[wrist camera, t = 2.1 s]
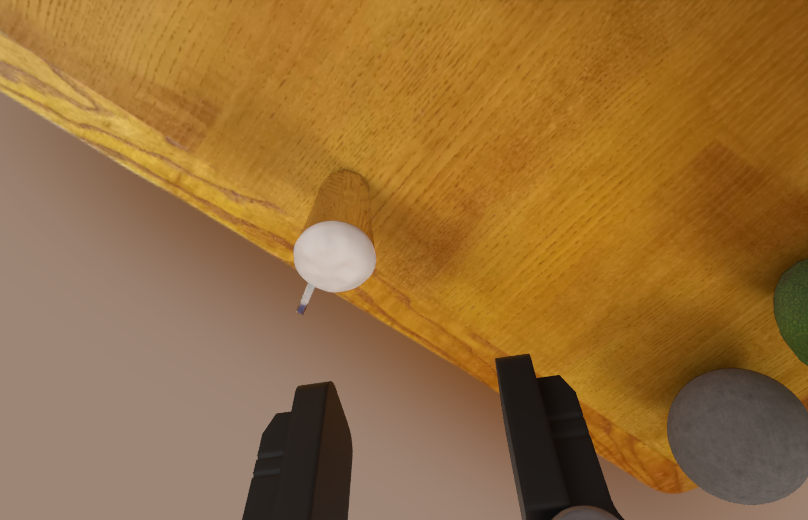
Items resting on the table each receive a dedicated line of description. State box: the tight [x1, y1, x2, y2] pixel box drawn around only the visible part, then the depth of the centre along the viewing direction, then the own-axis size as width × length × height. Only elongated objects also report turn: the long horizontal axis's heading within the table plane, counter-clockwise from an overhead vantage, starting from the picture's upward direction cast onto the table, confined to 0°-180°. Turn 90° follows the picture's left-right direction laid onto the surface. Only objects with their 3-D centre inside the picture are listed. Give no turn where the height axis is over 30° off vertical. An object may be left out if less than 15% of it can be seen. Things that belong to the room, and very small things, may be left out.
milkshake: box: [294, 170, 376, 316], centre depth 37 cm, size 4×5×10 cm
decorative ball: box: [667, 368, 808, 505], centre depth 47 cm, size 10×10×10 cm
